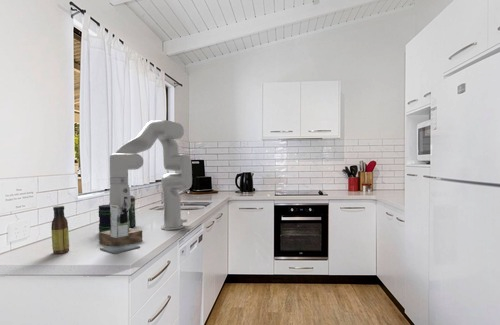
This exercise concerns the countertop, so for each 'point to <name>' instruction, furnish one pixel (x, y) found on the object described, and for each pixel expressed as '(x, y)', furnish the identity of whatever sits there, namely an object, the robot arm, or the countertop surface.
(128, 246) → the mat
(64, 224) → the sauce bottle
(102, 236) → the pocket block
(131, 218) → the coffee jar
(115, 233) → the syrup box
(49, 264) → the countertop surface
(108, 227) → the storage jar
